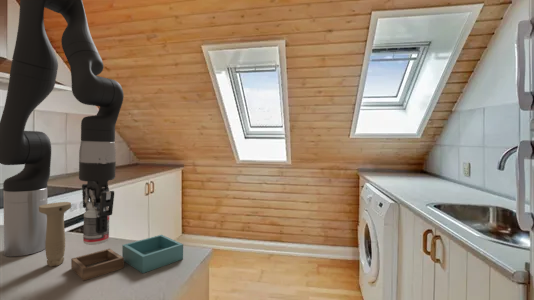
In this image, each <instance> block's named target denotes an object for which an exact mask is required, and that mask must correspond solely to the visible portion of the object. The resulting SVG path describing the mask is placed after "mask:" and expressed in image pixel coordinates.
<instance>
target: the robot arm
mask: <svg viewBox="0 0 534 300" xmlns="http://www.w3.org/2000/svg"><path fill="white" fill-rule="evenodd" d="M45 9H48V10H50V11H52V12H54V13H56V14H60V15H61V16H62V17H63V18H64V20H65V21H66V22H65V23H66V24H67V25H66V27H65V29H64V30H63V33H62V34H61V47H62V51H63V54H64V55H65V58H66V60H67V63H68V65H69V67H70V77H71V80H70V81H71V92H72V95H73V96H74V98H75V99H76V100H77V101H78V102H79V103H80V104H83V105H87V106H94V107H99V109H98V111H97V114H95V115H88V116H84V117H83V118H82V119H81V124H80V129H81V130H80V146H79V151H78V153H79V154H78V156H79V157H78V163H79V164H78V179H79V181H82V182H87V183H83V184H82V185H81V189H82V190H81V191H82V207H83V209H85V212H86V211H88V210H89V209H88V207H87V205H88V202H89V201H91V202H92V207H93V208H94V209H95V212H96V217H97V218H96V232H97V233H104V232H106V231H107V216H109V215H110V216H112V215H113V210H114V201H115V190H110V188H109V181H113V180H115V178H116V162H117V161H116V159H117V157H116V156H117V154H116V153H117V151H116V150H117V149H116V124H117V121H118V118H119V115H120V111H121V108H122V106H123V103H124V98H125V97H124V96H125V95H124V89H123V88H122V87H123V86H122V85H121V84H120V83H119V82H118V81H117V80H115V79H112V78H108V77H104V76H100V74H101V73H102V72H103V71H104V67H105V66H104V61H103V59H102V57H101V55H100V53H99V50H98V48H97V47H96V44H95V42H94V39H93V38H92V35H91V32H90V28H89V23H88V18H87V15H86V10H85V7H84V3H83V0H19V13H18V14H19V16H18V26H17V32H16V33H17V34H16V38H15V45H14V50H13V55H12V60H11V64H10V69H9V70H10V72H9V79H8V80H9V81H8V87H7V92H6V97H5V103H4V107H3V111H2V114H1V117H0V164H1V165H2V166H3V165H4V166H19V165H24V167H23V169H22V170H21V171H19V172H17V174H14V175H12V176H11V177H10V176H9V177H8V178H5V180H4V181H3V183H2V185H3V186H2V187H3V188H2V189H3V255H4V256H5V257H20V256H21V257H22V256H28V255H33V254H36V253H39V252H41V251H43V250H45V246H46V245H45V241H46V228H47V215H46V214H43V213H41V212H39V206H41V205H45V204H48V182H49V179H50V177H51V163H52V162H51V161H52V143H51V140H50V137H49V136H48V134H46V133H45V132H43V131H37V130H25V128H26V124H27V122H28V120H29V117H30V115H31V114H32V113H33V111H35V109H36V108H37V107H38V106H39V105H40V104H42V102H43V101H44V100H45V99H47V98H48V96H49V95H50V94H51V93H52V92H53V90H54V88H55V86H56V81H57V75H58V70H59V69H58V68H59V62H58V58H57V56H56V53H55V51H54V49H53V46H52V44H51V41H50V40H49V39H50V38H49V37H48V35H47V32H46V30H45V29H46V27H45V20H44V19H45V18H44V17H45ZM97 203H100V204H97ZM104 210H105V211H104ZM110 216H109V217H110Z"/></svg>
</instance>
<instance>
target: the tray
mask: <svg viewBox="0 0 534 300" xmlns="http://www.w3.org/2000/svg"><path fill="white" fill-rule="evenodd" d="M121 251H122V255H121V256H122V257H123V258H124V263H126V264H128V265H129V266H131V267H132V268H133V269H135V270H136V271H137V272H140V273H141V274H146V273H149V272H151V271H154V270H157V269H159V268H162V267H164V266H168V265H170V264H174V263H176V262H178V261H181V260H183V259H184V243H181V242H179V241H177V240H175V239H172V238H171V237H170V238H169V237H167V236H166V235H163V234H159V235H154V236H151V237H146V238H143V239H140V240H136V241H132V242H128V243H125V244H122V250H121Z"/></svg>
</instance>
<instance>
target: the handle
mask: <svg viewBox="0 0 534 300" xmlns="http://www.w3.org/2000/svg"><path fill="white" fill-rule="evenodd" d="M71 207H72V202H68V201H60V202H52V203H47V204H45V205H41V206H39V212H41V213H43V214H46V215H47V228H46V241H45V245H46V246H45V249H44V250H45V256H46V264H47V266H49V267H55V266H57V267H58V266H60V265H61V264H63V263H64V260H65V257H64V256H65V251H66V233H65V217H64V216H65V213H66V212H67V211H68V210H70V209H72V208H71Z"/></svg>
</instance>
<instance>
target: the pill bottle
mask: <svg viewBox="0 0 534 300" xmlns="http://www.w3.org/2000/svg"><path fill="white" fill-rule="evenodd" d="M97 204H100V203H97ZM87 207H88V209H89V210H88V211H85V212H84V213H83V232H82V233H83V234H82V235H83V237H82V238H83V241H82V242H83V244H85V245H87V246H94V245H95V246H96V245H100V244H104V243H106V242H108V241H109V239H110V216H111V215H109V216H107V231H106V232H104V233H97V232H96V218H97V217H96V212H95V209H94V208H93V207H92V202H91V201H89V202H88V205H87ZM104 211H105V210H104Z"/></svg>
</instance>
